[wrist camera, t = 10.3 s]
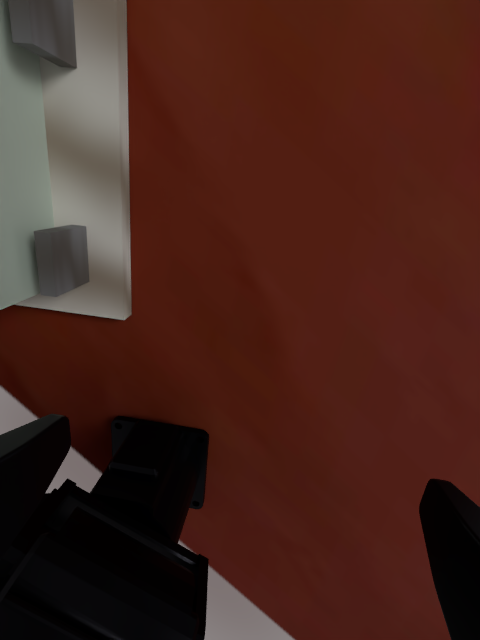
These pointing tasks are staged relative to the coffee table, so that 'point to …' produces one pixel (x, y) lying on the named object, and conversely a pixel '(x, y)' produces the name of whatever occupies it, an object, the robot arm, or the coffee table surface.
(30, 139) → the cabinet door
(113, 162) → the cabinet panel
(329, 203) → the coffee table surface
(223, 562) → the coffee table surface
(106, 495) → the robot arm
